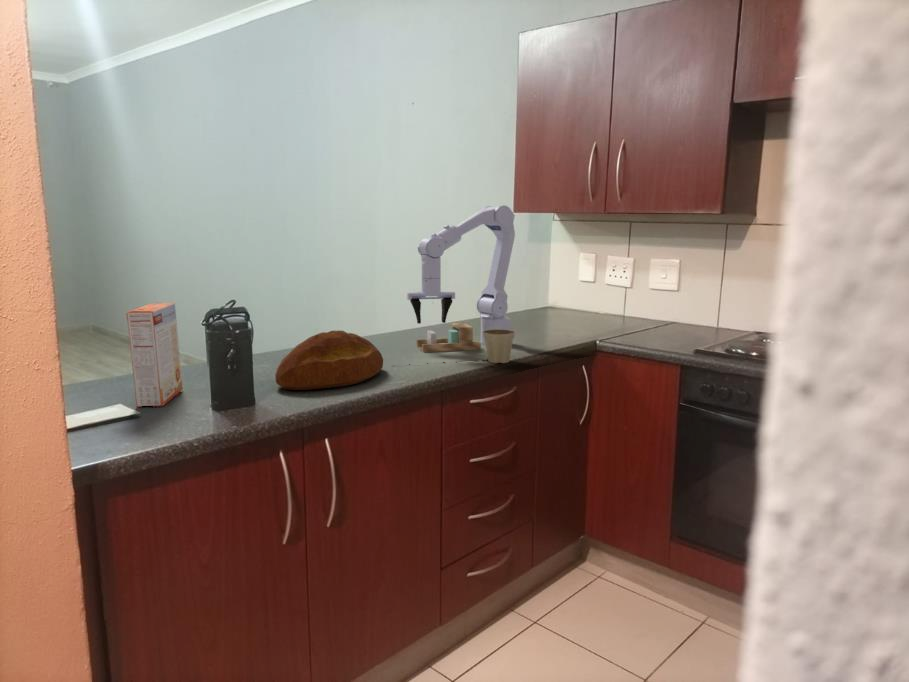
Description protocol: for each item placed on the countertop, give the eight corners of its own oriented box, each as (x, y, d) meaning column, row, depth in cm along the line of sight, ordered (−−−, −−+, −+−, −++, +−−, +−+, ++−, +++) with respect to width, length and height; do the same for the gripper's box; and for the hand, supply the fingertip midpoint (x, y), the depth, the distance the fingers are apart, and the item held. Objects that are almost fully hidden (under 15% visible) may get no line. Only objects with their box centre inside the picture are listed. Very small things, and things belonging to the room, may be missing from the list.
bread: (252, 385, 160) (249, 335, 158) (355, 364, 184) (353, 320, 182) (305, 400, 146) (303, 345, 144) (408, 375, 171) (408, 328, 169)
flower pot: (518, 359, 189) (519, 329, 188) (510, 366, 181) (511, 335, 179) (487, 357, 193) (487, 328, 191) (478, 363, 184) (478, 333, 182)
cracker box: (157, 391, 153) (149, 302, 150) (183, 391, 154) (177, 302, 150) (133, 408, 140) (124, 310, 136) (162, 407, 140) (154, 310, 136)
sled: (463, 344, 208) (463, 328, 207) (469, 348, 201) (469, 332, 200) (426, 346, 205) (426, 330, 204) (431, 350, 198) (431, 333, 198)
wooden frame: (471, 346, 210) (471, 322, 209) (480, 351, 201) (480, 327, 199) (416, 348, 206) (416, 324, 205) (422, 354, 196) (422, 329, 195)
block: (461, 343, 206) (461, 329, 206) (465, 345, 202) (465, 331, 201) (447, 344, 205) (447, 329, 204) (451, 346, 201) (451, 332, 200)
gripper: (451, 276, 204) (451, 320, 206) (405, 277, 200) (405, 321, 203) (456, 278, 197) (456, 323, 199) (409, 279, 193) (409, 324, 196)
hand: (431, 322), depth 200 cm, fingers open, 7 cm apart
